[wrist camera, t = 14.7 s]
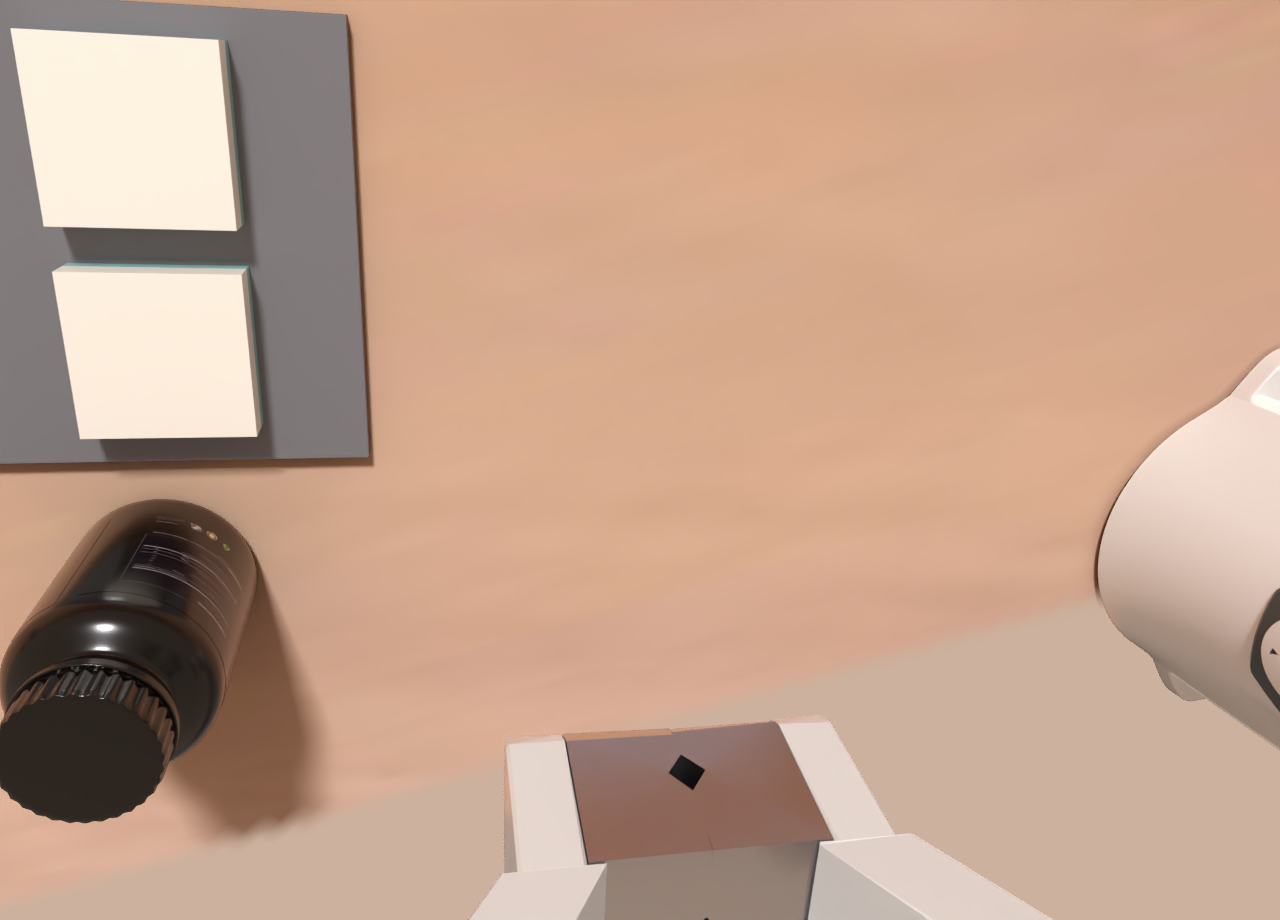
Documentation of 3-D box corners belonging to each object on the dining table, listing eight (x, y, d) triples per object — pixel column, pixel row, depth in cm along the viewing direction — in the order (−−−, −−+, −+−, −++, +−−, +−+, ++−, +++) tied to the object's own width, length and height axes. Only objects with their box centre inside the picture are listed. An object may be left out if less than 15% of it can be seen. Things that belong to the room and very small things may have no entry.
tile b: (218, 40, 32) (10, 27, 31) (236, 230, 34) (43, 226, 33) (227, 39, 33) (28, 28, 32) (244, 223, 35) (59, 219, 34)
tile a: (241, 274, 35) (52, 272, 33) (257, 436, 37) (79, 439, 36) (249, 265, 36) (67, 262, 35) (263, 422, 38) (93, 424, 37)
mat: (347, 15, 34) (345, 14, 33) (369, 451, 40) (368, 457, 39) (-188, -19, 31) (-200, -20, 30) (-77, 458, 37) (-85, 465, 36)
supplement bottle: (196, 669, 42) (111, 887, 31) (43, 583, 40) (-106, 787, 29) (297, 555, 41) (245, 740, 30) (147, 458, 39) (31, 622, 28)
